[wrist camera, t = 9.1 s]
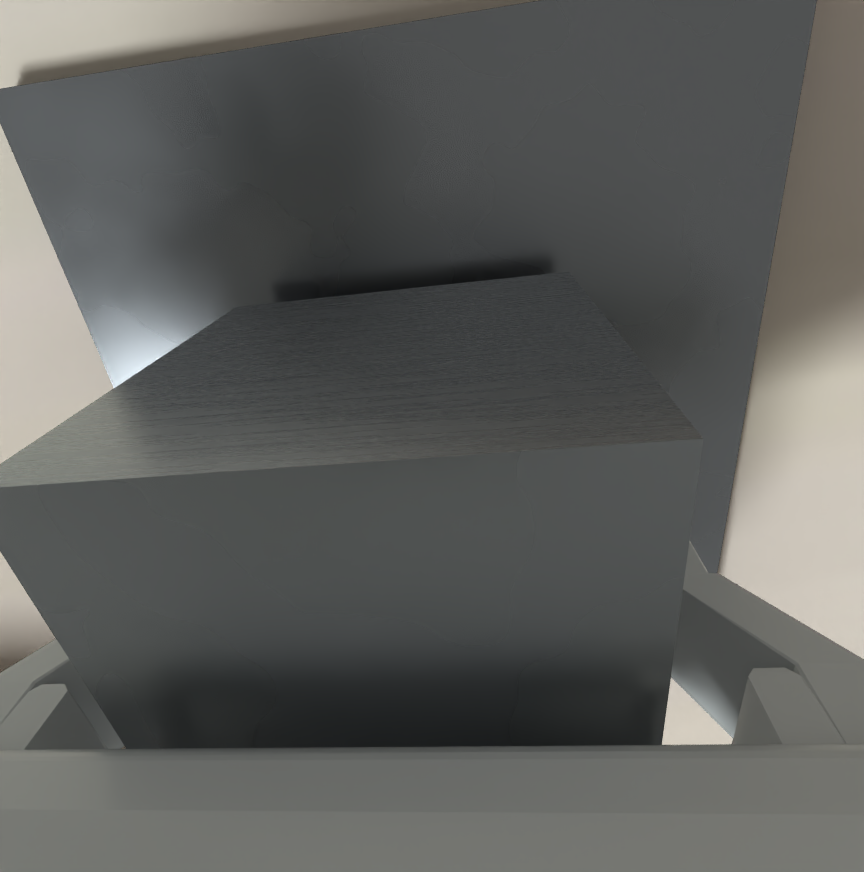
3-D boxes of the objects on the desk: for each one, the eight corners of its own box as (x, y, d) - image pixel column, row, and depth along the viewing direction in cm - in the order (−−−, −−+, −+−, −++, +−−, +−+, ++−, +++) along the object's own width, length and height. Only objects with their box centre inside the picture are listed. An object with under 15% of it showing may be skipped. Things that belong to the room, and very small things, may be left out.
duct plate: (229, 622, 17) (163, 750, 13) (12, 94, 10) (-236, 63, 7) (700, 607, 15) (770, 747, 11) (803, -34, 8) (1038, -166, 5)
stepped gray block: (236, 306, 10) (-38, 489, 5) (569, 271, 9) (703, 438, 4) (341, 667, 15) (267, 968, 9) (567, 662, 14) (628, 984, 9)
